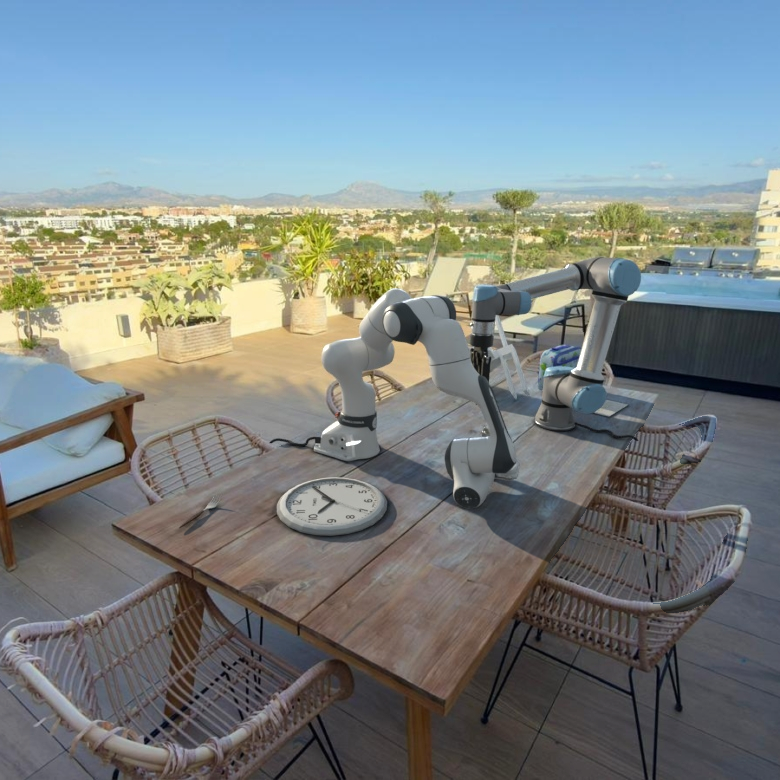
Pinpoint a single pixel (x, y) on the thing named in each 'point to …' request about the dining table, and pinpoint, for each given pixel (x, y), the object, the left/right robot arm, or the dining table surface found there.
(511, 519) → the dining table surface
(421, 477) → the dining table surface
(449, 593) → the dining table surface
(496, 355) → the white plastic object
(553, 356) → the lunch box
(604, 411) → the invitation card
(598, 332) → the right robot arm
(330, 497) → the wall clock
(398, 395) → the dining table surface
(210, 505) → the fork
